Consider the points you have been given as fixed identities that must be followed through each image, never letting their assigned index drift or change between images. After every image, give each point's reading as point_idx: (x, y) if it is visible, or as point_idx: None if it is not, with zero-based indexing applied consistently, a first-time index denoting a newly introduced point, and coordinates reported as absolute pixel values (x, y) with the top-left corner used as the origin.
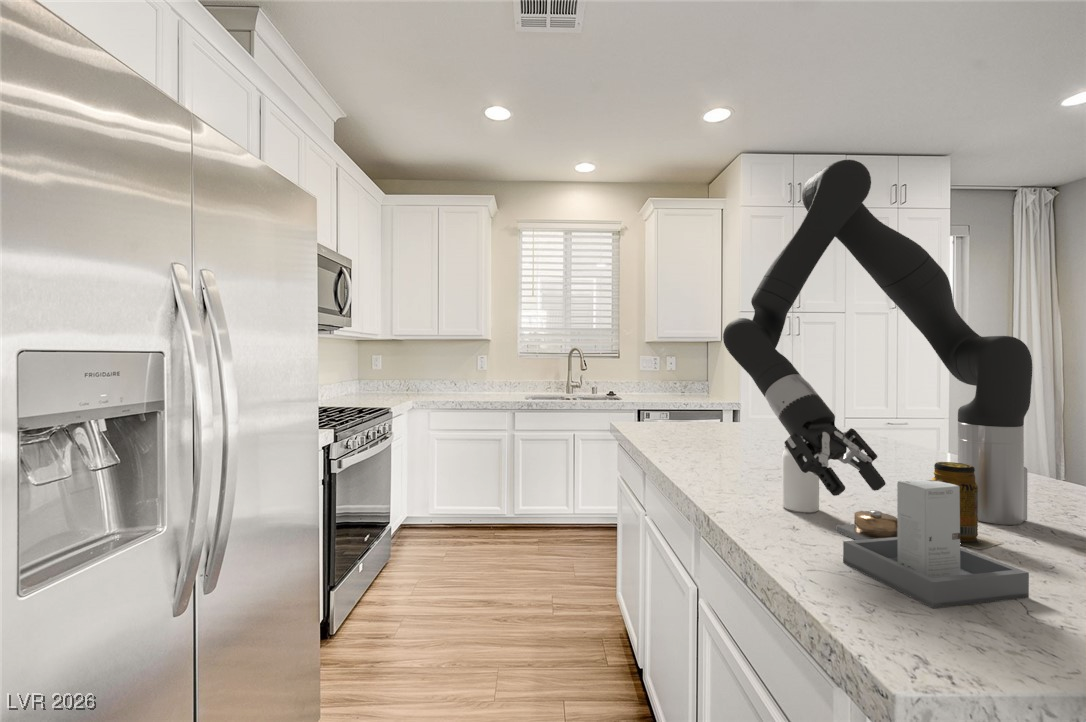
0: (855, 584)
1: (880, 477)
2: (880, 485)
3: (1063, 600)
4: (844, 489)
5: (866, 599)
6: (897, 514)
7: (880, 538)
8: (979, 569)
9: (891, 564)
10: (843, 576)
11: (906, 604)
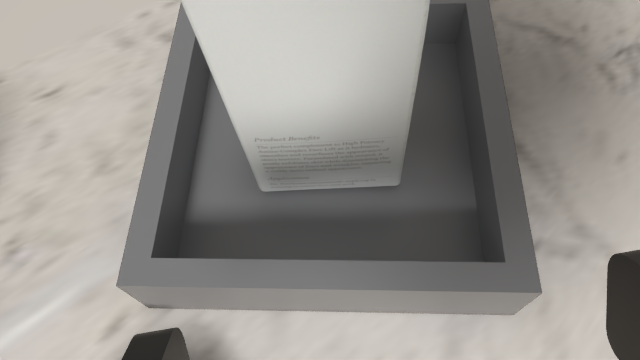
0: (578, 166)
1: (140, 357)
2: (185, 347)
3: (142, 23)
4: (614, 260)
5: (603, 93)
6: (417, 71)
7: (349, 287)
8: (197, 102)
9: (504, 90)
10: (583, 218)
11: (517, 60)
